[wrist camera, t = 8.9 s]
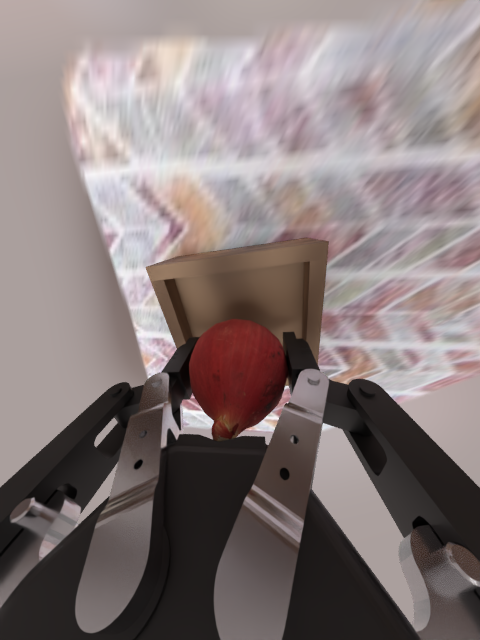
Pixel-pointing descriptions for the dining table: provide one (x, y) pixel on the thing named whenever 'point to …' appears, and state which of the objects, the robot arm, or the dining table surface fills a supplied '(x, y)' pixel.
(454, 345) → the dining table surface
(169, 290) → the brown wooden tray
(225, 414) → the pomegranate
